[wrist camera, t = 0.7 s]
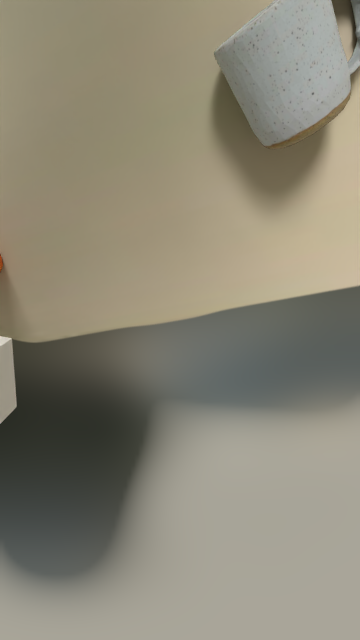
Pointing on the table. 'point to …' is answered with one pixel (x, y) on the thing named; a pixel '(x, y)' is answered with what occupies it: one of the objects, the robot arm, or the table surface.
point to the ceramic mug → (290, 69)
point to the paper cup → (1, 263)
